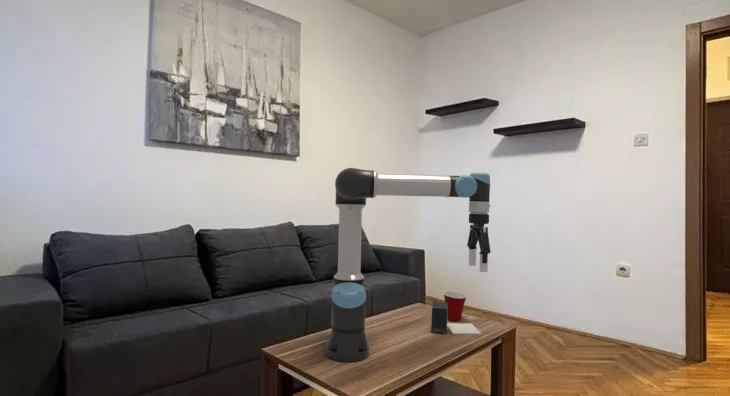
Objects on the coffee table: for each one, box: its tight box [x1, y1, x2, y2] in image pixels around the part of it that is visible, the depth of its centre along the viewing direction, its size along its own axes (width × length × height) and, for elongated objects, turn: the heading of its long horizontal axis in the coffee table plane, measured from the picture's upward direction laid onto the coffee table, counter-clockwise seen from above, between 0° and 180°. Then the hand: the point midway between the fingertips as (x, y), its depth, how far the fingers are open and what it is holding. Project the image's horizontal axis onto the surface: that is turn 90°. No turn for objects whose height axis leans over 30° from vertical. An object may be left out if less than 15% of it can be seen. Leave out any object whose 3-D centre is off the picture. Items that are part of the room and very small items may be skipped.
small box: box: [430, 301, 448, 335], centre depth 173 cm, size 11×6×10 cm, turn 168°
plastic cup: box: [442, 290, 468, 323], centre depth 187 cm, size 11×11×12 cm
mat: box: [447, 322, 482, 335], centre depth 175 cm, size 12×13×1 cm
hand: (477, 268), depth 159 cm, fingers open, 13 cm apart
